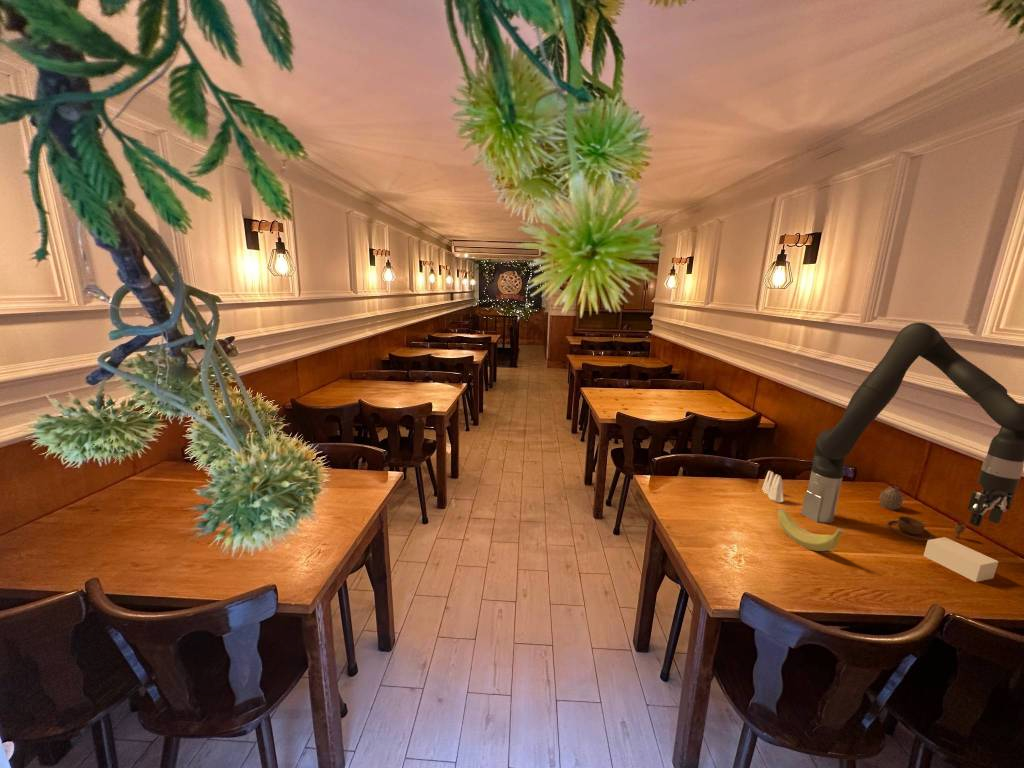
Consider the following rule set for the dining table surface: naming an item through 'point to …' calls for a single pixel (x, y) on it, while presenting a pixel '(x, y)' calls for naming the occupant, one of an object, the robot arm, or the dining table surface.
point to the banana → (807, 534)
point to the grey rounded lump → (891, 498)
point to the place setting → (918, 528)
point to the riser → (961, 559)
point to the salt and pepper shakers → (773, 487)
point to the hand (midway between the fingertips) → (984, 523)
